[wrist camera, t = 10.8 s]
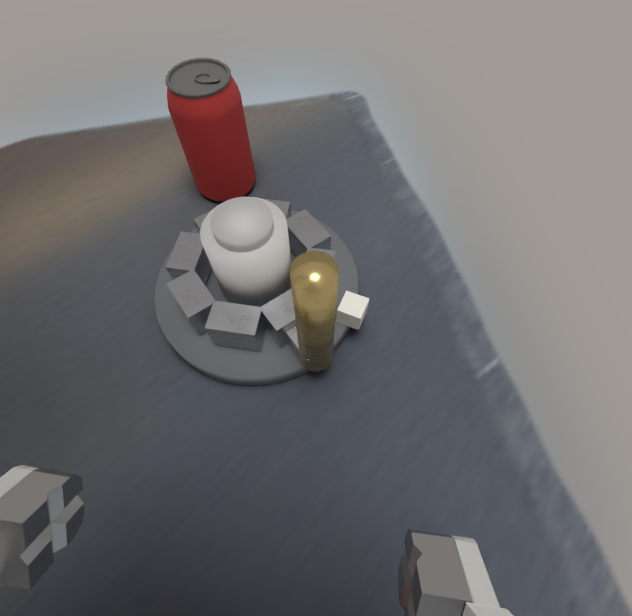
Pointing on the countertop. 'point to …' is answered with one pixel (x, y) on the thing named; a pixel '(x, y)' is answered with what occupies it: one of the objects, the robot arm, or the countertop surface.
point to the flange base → (241, 358)
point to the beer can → (211, 127)
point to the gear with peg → (277, 315)
